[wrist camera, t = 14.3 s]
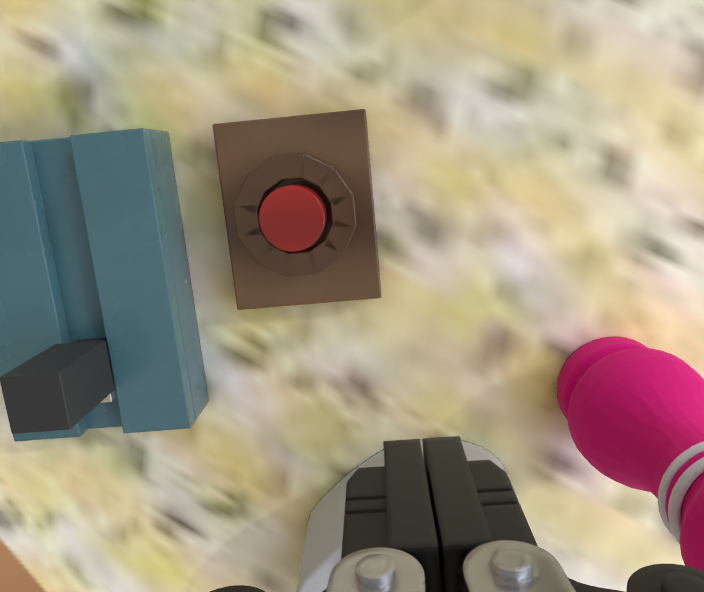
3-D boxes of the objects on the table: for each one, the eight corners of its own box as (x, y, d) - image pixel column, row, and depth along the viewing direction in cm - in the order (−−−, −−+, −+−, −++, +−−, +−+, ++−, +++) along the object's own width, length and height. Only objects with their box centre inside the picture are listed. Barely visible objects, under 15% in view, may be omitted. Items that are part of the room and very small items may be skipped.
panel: (221, 126, 35) (203, 122, 31) (365, 111, 34) (365, 105, 31) (245, 301, 37) (230, 318, 33) (380, 289, 37) (382, 305, 33)
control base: (-6, 148, 36) (-60, 147, 31) (168, 131, 35) (138, 127, 31) (49, 413, 39) (7, 447, 34) (209, 401, 38) (187, 433, 34)
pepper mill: (527, 416, 38) (690, 691, 18) (580, 309, 36) (821, 484, 17) (635, 459, 38) (908, 772, 19) (693, 354, 37) (1054, 577, 17)
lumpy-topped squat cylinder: (285, 523, 40) (262, 621, 32) (444, 398, 38) (464, 467, 29) (391, 632, 41) (396, 753, 33) (549, 517, 39) (598, 616, 31)
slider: (66, 336, 35) (-2, 376, 28) (116, 332, 34) (59, 372, 28) (75, 385, 35) (11, 434, 29) (124, 381, 35) (70, 430, 29)
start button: (261, 187, 32) (254, 188, 30) (323, 181, 32) (321, 182, 30) (268, 249, 33) (262, 254, 31) (330, 244, 32) (327, 248, 31)
